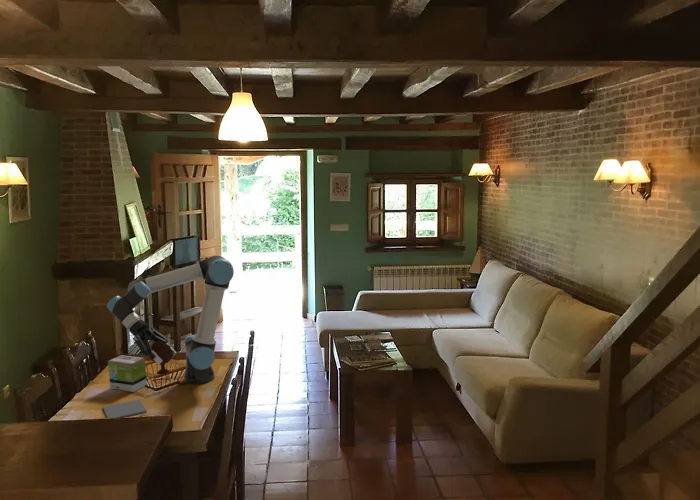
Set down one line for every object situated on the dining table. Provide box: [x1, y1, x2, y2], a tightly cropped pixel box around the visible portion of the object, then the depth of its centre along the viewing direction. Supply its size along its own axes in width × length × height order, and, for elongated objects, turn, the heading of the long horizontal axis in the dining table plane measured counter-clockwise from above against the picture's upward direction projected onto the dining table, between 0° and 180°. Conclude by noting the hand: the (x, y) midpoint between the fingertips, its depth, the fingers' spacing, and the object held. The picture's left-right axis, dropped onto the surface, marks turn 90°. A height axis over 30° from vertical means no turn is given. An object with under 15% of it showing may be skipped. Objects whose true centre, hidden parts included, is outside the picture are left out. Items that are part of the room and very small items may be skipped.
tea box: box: [107, 354, 148, 393], centre depth 306 cm, size 15×10×15 cm, turn 68°
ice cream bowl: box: [148, 341, 175, 375], centre depth 282 cm, size 11×11×15 cm
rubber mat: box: [102, 399, 147, 419], centre depth 278 cm, size 16×16×1 cm
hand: (167, 358), depth 282 cm, fingers closed on ice cream bowl, 11 cm apart
